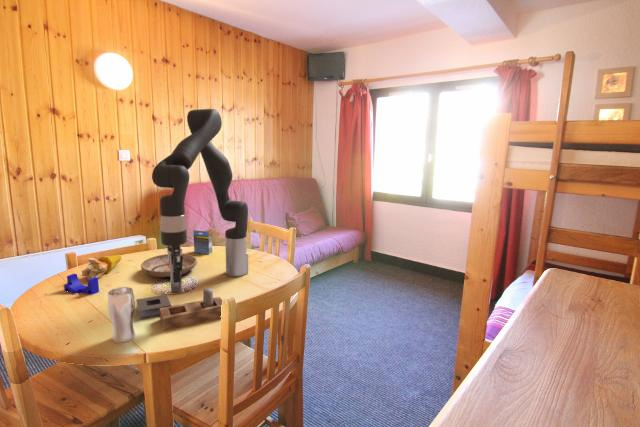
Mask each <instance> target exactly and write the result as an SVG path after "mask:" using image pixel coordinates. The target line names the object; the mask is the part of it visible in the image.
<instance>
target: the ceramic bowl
mask: <svg viewBox="0 0 640 427" xmlns="http://www.w3.org/2000/svg"><path fill="white" fill-rule="evenodd" d="M182 256H183V263H182V271H181V275H184V274H187V273H188V272H190V271H192V270H193V269H194V268H195V267H196V266H197V263H198V261H197V258H196V257H195V256H194V255H191V254H185V253H182ZM140 269H141V270H142V271H143V272H144V273H145V274H148V275H149V276H152V277H157V278H169V277H170V264H169V260H168V253H167V254H166V253H165V254H161V255H160V254H159V255H157V256H156V255H155V256H152V257H149V258H147V259H144V260H143V261H142V263H141V265H140Z"/></svg>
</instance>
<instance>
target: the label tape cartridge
mask: <svg viewBox="0 0 640 427" xmlns="http://www.w3.org/2000/svg"><path fill="white" fill-rule="evenodd" d="M192 233H193V248H194V249H193V252H194V254H205V255H210V254H212V253H213V237H211V236H210V235H209V232H208V231H205V230H204V231H203V230H193V232H192Z"/></svg>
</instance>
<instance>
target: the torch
mask: <svg viewBox="0 0 640 427" xmlns="http://www.w3.org/2000/svg"><path fill="white" fill-rule="evenodd" d="M86 260H87V261H88V262H90V263H88V264H87V265H86V268H84V269H82V270H81V271H80V272H81V276H82V277H88V278H87V280H89V279H91V278H94V277H97V278H98V279H99V278H100V277H102V276H103V275H104V274H109V273H110V272H111V270H113V269H114V268H115V267H116V266H117V265H118V264H119V263H120V262H121V260H122V255H120V254H113V255H104V256H101V257H99V258H97V259H96V258H95V257H89V258H86Z"/></svg>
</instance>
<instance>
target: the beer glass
mask: <svg viewBox="0 0 640 427" xmlns="http://www.w3.org/2000/svg"><path fill="white" fill-rule="evenodd" d="M135 302H136V300H135V295H134V289H133V287H131V286H130V287H129V286H121V287H120V286H119V287H116V288H112V289H110V290H109V291H108V292H107V309H108V310H107V312H108V315H109V319H110V320H111V325H112V328H113V332H112V333H113V334H112V341H113V342H114V343H117V344H122V343H127V342H130V341H132V340H133V339H135V337H136V332H135V328H134V317H135V306H136V303H135Z"/></svg>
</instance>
